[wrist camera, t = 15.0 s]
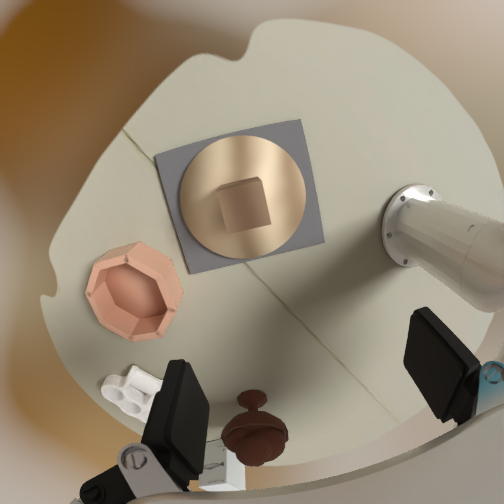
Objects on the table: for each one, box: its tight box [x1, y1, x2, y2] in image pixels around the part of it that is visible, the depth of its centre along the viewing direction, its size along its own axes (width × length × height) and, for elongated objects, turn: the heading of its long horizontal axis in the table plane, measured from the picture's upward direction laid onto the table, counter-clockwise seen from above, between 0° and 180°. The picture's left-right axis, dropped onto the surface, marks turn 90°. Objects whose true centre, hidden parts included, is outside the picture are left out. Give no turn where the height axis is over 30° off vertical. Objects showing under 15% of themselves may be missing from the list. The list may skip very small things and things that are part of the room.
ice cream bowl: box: [221, 390, 288, 466], centre depth 38 cm, size 11×11×15 cm
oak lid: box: [180, 135, 306, 259], centre depth 29 cm, size 15×15×7 cm
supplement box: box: [199, 439, 246, 491], centre depth 45 cm, size 7×7×13 cm
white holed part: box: [101, 365, 163, 423], centre depth 43 cm, size 3×18×15 cm
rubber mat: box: [155, 119, 325, 274], centre depth 33 cm, size 18×16×1 cm
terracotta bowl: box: [85, 241, 183, 342], centre depth 34 cm, size 12×12×5 cm
